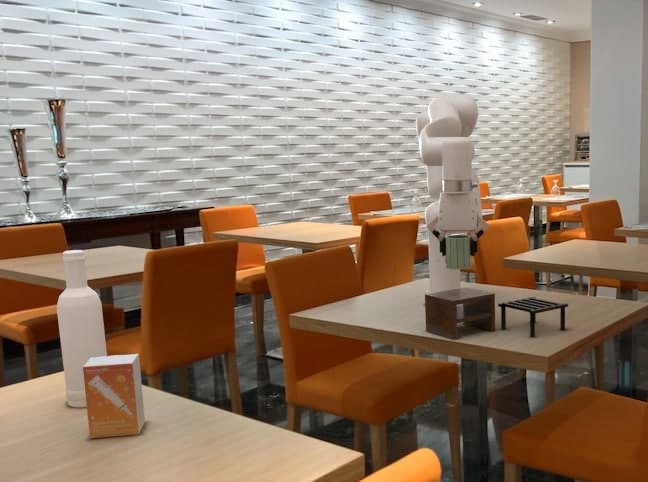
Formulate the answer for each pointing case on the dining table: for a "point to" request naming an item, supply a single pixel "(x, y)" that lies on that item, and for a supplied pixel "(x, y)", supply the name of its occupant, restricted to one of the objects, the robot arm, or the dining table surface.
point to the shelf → (459, 311)
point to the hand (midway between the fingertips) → (458, 254)
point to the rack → (532, 310)
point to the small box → (114, 395)
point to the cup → (458, 251)
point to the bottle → (79, 326)
